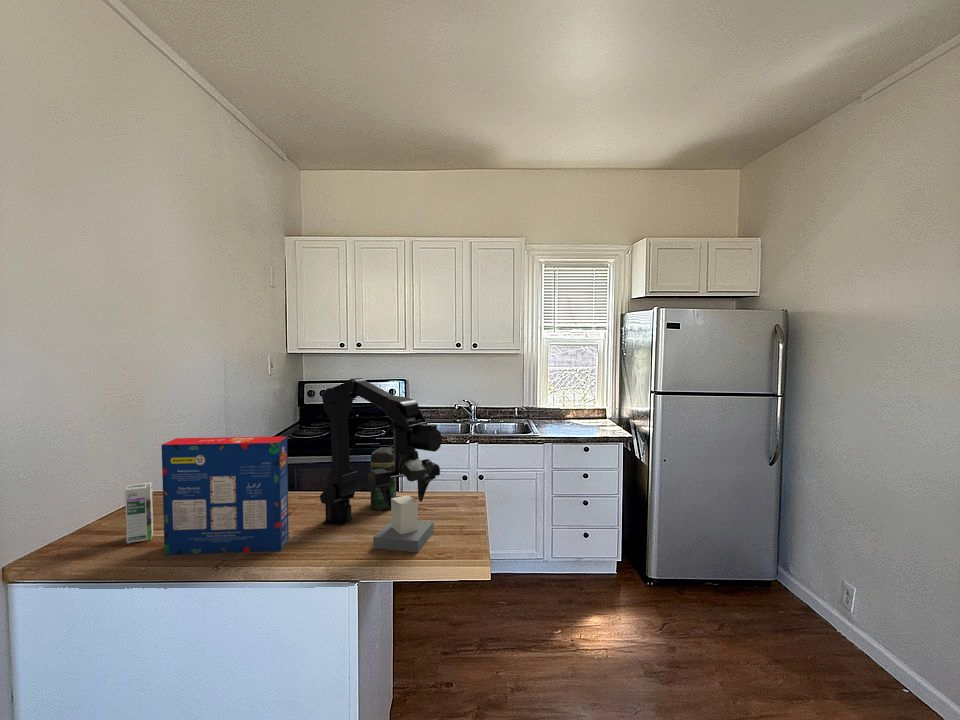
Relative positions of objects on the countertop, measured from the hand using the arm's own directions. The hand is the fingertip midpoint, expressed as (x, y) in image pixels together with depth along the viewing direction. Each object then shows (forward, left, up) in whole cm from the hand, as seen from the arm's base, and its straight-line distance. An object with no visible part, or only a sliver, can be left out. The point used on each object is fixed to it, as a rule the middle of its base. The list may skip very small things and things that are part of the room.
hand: (405, 504), depth 141 cm
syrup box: (-70, -14, -10) cm, 72 cm away
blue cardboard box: (-43, -14, -10) cm, 46 cm away
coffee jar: (-16, +25, -10) cm, 31 cm away
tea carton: (0, 0, -7) cm, 7 cm away
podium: (0, 0, -10) cm, 10 cm away
